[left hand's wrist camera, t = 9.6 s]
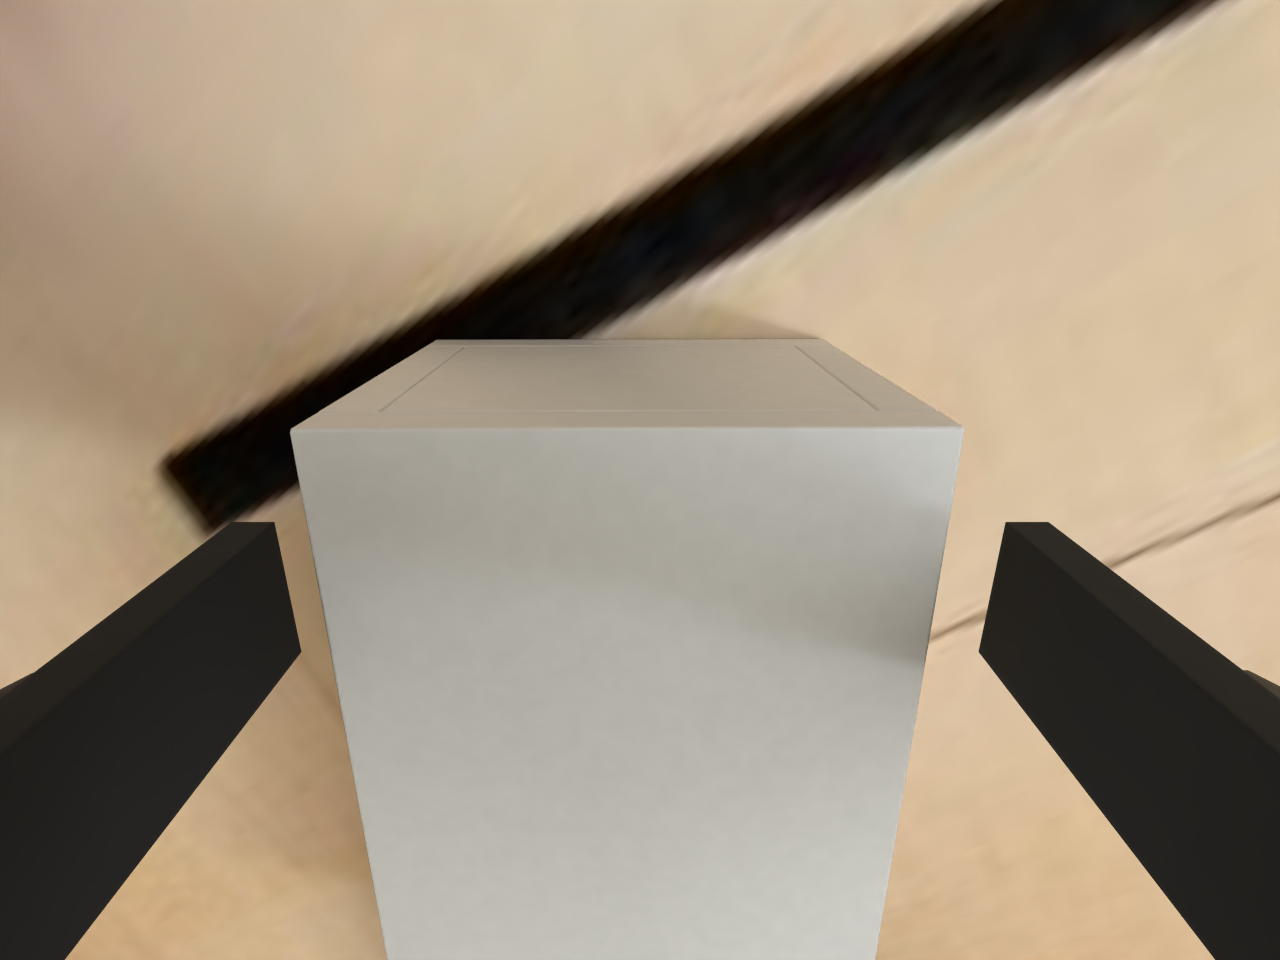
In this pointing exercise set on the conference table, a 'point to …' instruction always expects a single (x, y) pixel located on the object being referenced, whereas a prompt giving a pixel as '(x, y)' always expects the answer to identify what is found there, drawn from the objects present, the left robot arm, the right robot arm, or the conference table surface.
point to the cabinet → (629, 641)
